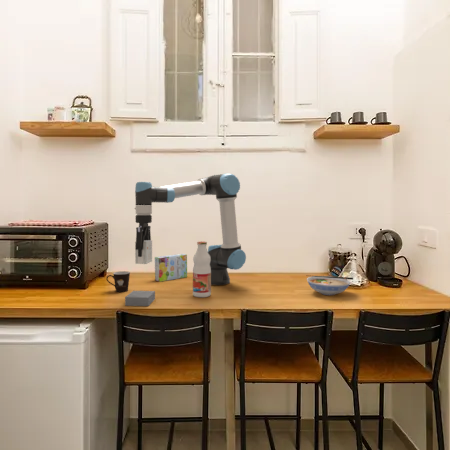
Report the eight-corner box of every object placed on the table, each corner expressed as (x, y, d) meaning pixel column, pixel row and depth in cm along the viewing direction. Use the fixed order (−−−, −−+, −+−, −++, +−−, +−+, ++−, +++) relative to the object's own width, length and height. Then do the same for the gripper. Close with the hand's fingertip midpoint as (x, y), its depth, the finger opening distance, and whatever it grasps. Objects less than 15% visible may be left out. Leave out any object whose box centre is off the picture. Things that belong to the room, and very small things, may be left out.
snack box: (182, 276, 228) (182, 253, 227) (187, 277, 224) (187, 254, 223) (154, 280, 213) (154, 256, 213) (159, 282, 209) (159, 257, 208)
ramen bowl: (301, 296, 178) (301, 281, 177) (306, 286, 199) (307, 273, 199) (352, 301, 169) (353, 285, 169) (352, 290, 190) (353, 276, 190)
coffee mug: (133, 289, 190) (133, 271, 189) (123, 293, 182) (123, 274, 181) (115, 288, 194) (115, 270, 193) (105, 291, 186) (105, 273, 185)
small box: (141, 261, 169) (141, 239, 168) (152, 261, 168) (152, 240, 167) (134, 263, 161) (134, 241, 160) (146, 264, 160) (146, 241, 160)
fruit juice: (214, 295, 179) (214, 242, 178) (200, 298, 173) (200, 243, 171) (203, 291, 186) (203, 240, 184) (189, 295, 180) (189, 241, 178)
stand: (155, 299, 172) (154, 291, 171) (148, 306, 160) (148, 297, 159) (133, 298, 172) (133, 290, 172) (125, 305, 160) (125, 297, 160)
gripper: (143, 214, 174) (143, 258, 175) (127, 215, 153) (127, 265, 154) (157, 214, 173) (157, 258, 175) (144, 215, 152) (144, 266, 154)
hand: (143, 261), depth 165 cm, fingers closed on small box, 8 cm apart
